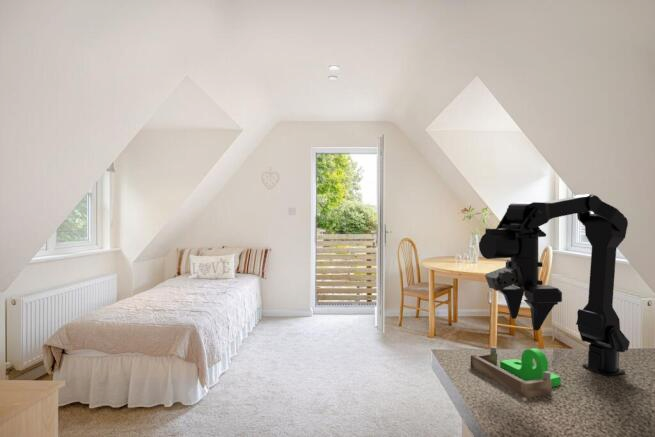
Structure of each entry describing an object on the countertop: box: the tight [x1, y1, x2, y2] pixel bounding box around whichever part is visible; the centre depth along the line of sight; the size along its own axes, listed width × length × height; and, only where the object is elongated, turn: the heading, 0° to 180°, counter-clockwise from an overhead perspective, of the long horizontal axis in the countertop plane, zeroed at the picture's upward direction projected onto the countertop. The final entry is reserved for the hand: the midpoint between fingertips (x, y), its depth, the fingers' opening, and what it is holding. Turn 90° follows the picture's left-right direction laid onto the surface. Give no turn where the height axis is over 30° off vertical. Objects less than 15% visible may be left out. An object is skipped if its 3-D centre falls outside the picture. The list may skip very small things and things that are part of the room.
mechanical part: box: [499, 347, 562, 388], centre depth 93 cm, size 12×6×8 cm, turn 20°
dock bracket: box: [470, 346, 552, 399], centre depth 91 cm, size 7×18×4 cm, turn 18°
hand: (524, 324), depth 90 cm, fingers open, 9 cm apart
